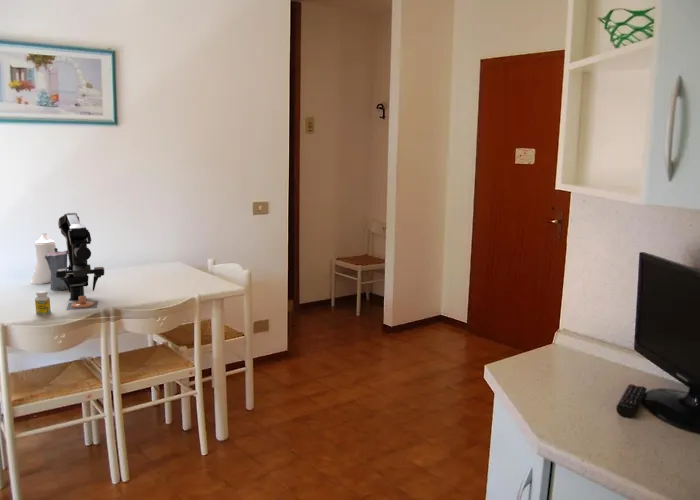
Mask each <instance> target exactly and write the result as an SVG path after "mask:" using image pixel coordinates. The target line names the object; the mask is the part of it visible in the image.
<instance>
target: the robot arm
mask: <svg viewBox="0 0 700 500" xmlns="http://www.w3.org/2000/svg"><path fill="white" fill-rule="evenodd" d="M57 224H58V229H60V234H61V235H62V236H63V237H64V238H65V242H66V251H67V250H68V254H67V258H68V262H69V264H70V267H69V266H68V267H69V269H58V270H57V272H56V278H60V279H61V280H63V281H64V282H65V284H66V287H67V288H68V289H67V290H68V292H69V294H70V295H69V299H68V301H71V302H73V301H74V302H75V301H79V298H78V297H79V296H85V289H84V287H88V286H89V275H93V278H92V279H93V281H92V292H94V291H95V289H96V286H97V285H96V284H97V282H98V279H99V278H101V277H102V276H105V268H104V267H103V266H95V267H94V268H91V264H89V263H88V260H89V259H90V258H91V257H92V252H91V249H89V247H88V246H87V245H91V242H92V238H91V236H92V235H91V233H90V231H89V229H87V227H86V226H85V225H83V224H81V222H80V217H79V216H78V213H77V212H65V213H64V214H63V215H62V216H60V217H59V218H58V221H57ZM69 264H68V265H69Z"/></svg>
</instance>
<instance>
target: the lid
mask: <svg viewBox="0 0 700 500" xmlns="http://www.w3.org/2000/svg"><path fill="white" fill-rule="evenodd" d="M78 298H79V300H77V301H74V303H73V302H71V303H72V304H71V307H73V308H87V307H91V306H93V305H94V302H92V300H87V296H86V295H84V296H79V297H78Z"/></svg>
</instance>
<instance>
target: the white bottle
mask: <svg viewBox="0 0 700 500" xmlns="http://www.w3.org/2000/svg"><path fill="white" fill-rule="evenodd" d="M34 242H35V243H34V247H35V254H36V265H35V267H34V270H33V275H32V277H31V282H30V283H31V284H32V285H41V284H43V283H44V284H49V283H51V272H50V269H49V266H48V263H47V260H46V259H45V258H44V257H45V256H46V254H49V253H52V252H55V250H54V249H55V248H57V246H56V243H55V240H53V239H50V237H49V236H48V235H47V233H44V232H43V233H41V236H40V237H39V239H38V240H36V241H34ZM44 284H43V285H44Z"/></svg>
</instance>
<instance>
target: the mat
mask: <svg viewBox="0 0 700 500" xmlns="http://www.w3.org/2000/svg"><path fill="white" fill-rule="evenodd" d="M91 301H92V300H91ZM74 302H75V301H74ZM74 302H73V301H72V302H68V305H67V306H66V311H72V310H74V311H75V310H89V309H98V307H99V306H98V305H99V304H98V303H99V300H93V301H92V302H94V305H93V306H91V307H87V308H73V307H71V304H72V303H74Z"/></svg>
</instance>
